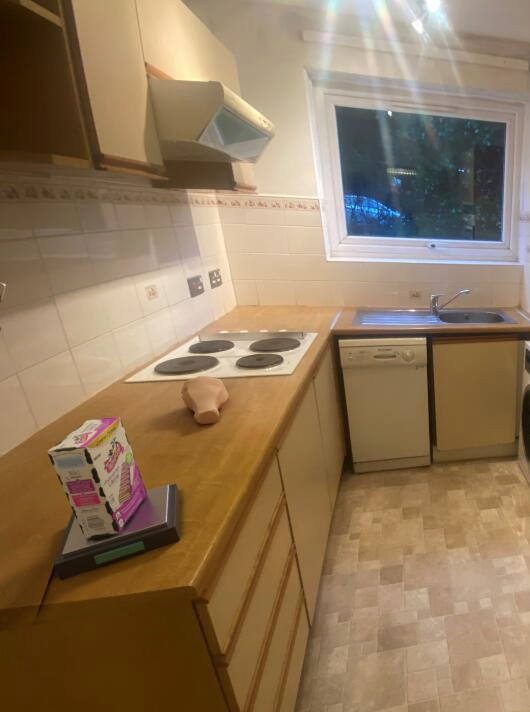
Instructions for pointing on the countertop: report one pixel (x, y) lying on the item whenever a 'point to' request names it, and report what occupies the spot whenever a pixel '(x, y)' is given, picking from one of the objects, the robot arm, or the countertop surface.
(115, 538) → the scale pan
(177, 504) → the scale
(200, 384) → the squash
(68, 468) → the candy bar box
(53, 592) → the countertop surface
